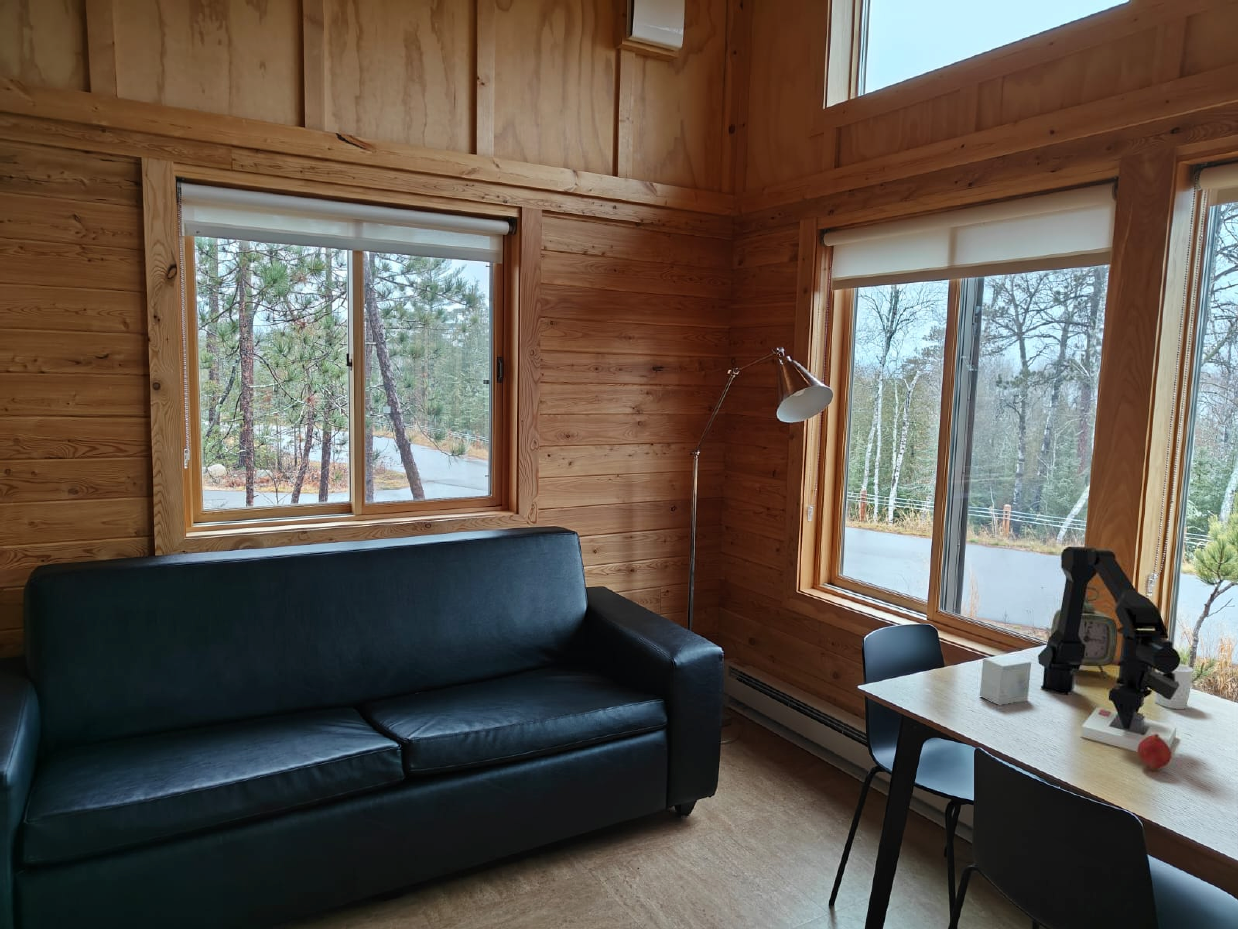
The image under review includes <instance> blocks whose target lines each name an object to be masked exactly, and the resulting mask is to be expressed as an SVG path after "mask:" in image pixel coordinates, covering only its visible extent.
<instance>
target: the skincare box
mask: <svg viewBox="0 0 1238 929" xmlns="http://www.w3.org/2000/svg"><path fill="white" fill-rule="evenodd" d="M1031 666H1032V661H1030V660H1027V659H1024V658H1022V657H1020V656H1017V655H1015V654H1005V655H997V656H992V657H983V658H982V667H981V668H982V671H981V681H980V689H979V696H982V697H983V698H986V699H988V700H989V701H988V700H987V701H988V702H990V701H991V702H990V703H992V702H994V703H997V704H998V705H997V706H1003V705H1002V704H1005V705H1009V704H1008V703H1011V704H1014V703H1013V702H1017V703H1022V701H1023V702H1026V701H1027V700H1029V689H1030V679H1031V670H1032V669H1031V668H1032V667H1031ZM983 698H982V699H983ZM994 703H993V704H994Z"/></svg>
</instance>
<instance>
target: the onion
mask: <svg viewBox="0 0 1238 929" xmlns="http://www.w3.org/2000/svg"><path fill="white" fill-rule="evenodd" d="M1137 755H1138V758H1139V759H1140V760H1141V761H1142V763H1143V764H1145V766H1146V767H1147V768H1149V769H1150V770H1151V771H1158V770H1159V769H1161V768H1163V767H1165V766H1167V765H1168V764H1169V763H1170V761H1171V759H1172V752H1171V749H1169V747H1168V745H1167V744H1166V743H1165V742H1164V741H1163V740H1162V739H1161V738H1160V737H1159V734H1157V733H1155V734H1154V735H1151V736H1149V737H1146V738H1145V739H1144V740H1142V741H1141V742H1140V744H1139V745H1138V752H1137Z"/></svg>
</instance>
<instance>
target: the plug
mask: <svg viewBox="0 0 1238 929" xmlns="http://www.w3.org/2000/svg"><path fill="white" fill-rule="evenodd" d="M1145 717H1146V716H1145V715H1144V713H1141V712H1139V711H1138V712H1135V713H1134V716H1133V719H1132V722H1131V725H1130V728H1129V729H1125V728H1123V725H1122V723H1121V720H1120V718H1119V715H1118V713H1117V714H1116V721H1115V728H1118V729H1121V730H1125V731H1129V732H1133V733H1137V734H1141V735H1143V731H1144V720H1145V719H1146V718H1145Z"/></svg>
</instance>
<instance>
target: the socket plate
mask: <svg viewBox="0 0 1238 929" xmlns="http://www.w3.org/2000/svg"><path fill="white" fill-rule="evenodd" d="M1116 714H1117V711H1115V710H1110V709H1106V708H1104V707H1103V708H1102V707H1096V708H1095V709H1094V710H1093V711H1092V713H1091V714H1090V715H1089V717H1088V718H1087V719H1086V720H1085V721H1084V723H1083V724H1082V725H1081V732H1080V738H1085V739H1089V740H1092V741H1095V742H1099V743H1103V744H1107V745H1110V746H1115V747H1118V748H1122V749H1126V750H1129V751H1132V752H1137V753H1138V745H1139V744H1140V742H1141V741H1142V740H1144V739H1145V738H1146V737H1149V736H1151V735H1154V734H1155V733H1157V734H1159V737H1160V738H1161V739H1162V740H1163V741H1164V742H1165V743H1166V744H1167V745H1168V747H1169V749H1170V748H1171V746H1172V745H1173V743H1174V741H1175V739H1176V734H1177V726H1175V725H1173V724H1169V723H1164V722H1160V721H1155V720H1151V719H1148V718H1145V720H1144V731H1143V735H1141V734H1137V733H1133V732H1129V731H1125V730H1121V729H1118V728H1115V721H1116ZM1170 750H1171V749H1170Z"/></svg>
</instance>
